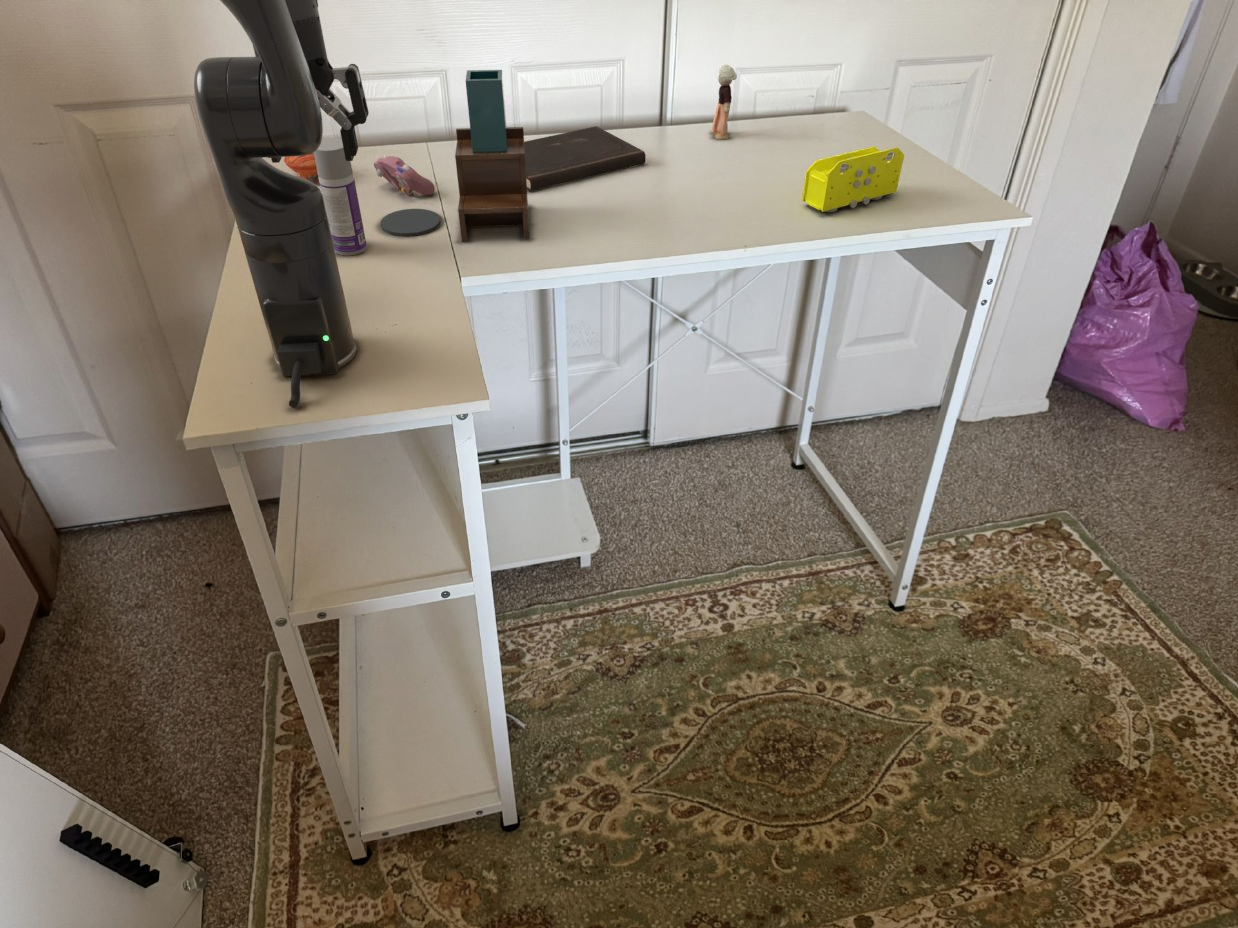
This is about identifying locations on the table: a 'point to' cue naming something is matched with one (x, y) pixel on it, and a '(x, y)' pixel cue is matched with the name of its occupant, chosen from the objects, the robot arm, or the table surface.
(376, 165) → the video game controller
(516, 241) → the table surface
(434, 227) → the coaster
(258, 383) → the table surface
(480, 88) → the holder
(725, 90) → the grandmother figurine
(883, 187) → the yellow toy chassis
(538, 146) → the hardcover book
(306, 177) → the pot
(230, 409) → the table surface
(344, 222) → the container
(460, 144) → the shelf
